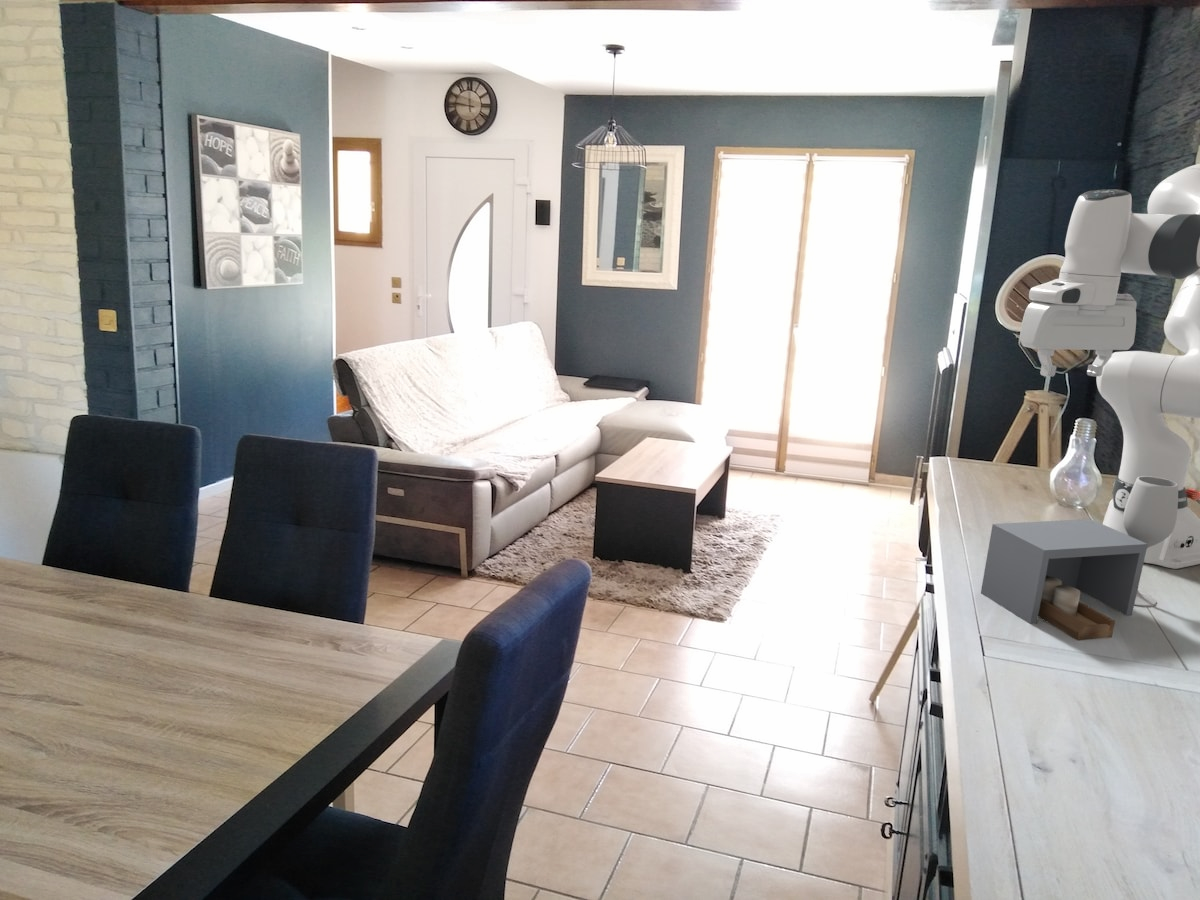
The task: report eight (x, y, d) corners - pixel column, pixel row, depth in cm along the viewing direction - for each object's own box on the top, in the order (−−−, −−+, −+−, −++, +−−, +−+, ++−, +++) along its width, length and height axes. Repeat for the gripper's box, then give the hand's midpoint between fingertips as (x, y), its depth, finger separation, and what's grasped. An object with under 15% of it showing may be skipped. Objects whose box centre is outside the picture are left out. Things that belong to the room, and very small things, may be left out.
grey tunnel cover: (1076, 585, 159) (1090, 519, 156) (1131, 615, 148) (1147, 543, 145) (980, 592, 154) (992, 524, 151) (1030, 623, 143) (1044, 550, 139)
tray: (1046, 599, 152) (1051, 571, 151) (1111, 637, 140) (1118, 606, 138) (1014, 602, 151) (1019, 573, 149) (1077, 640, 138) (1083, 609, 136)
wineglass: (1164, 609, 151) (1192, 490, 145) (1115, 603, 152) (1140, 485, 147) (1147, 591, 158) (1173, 477, 153) (1100, 586, 159) (1124, 472, 154)
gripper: (1122, 292, 153) (1106, 372, 156) (1021, 288, 147) (1007, 372, 151) (1153, 295, 147) (1136, 379, 150) (1049, 292, 141) (1033, 379, 145)
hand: (1070, 375), depth 150 cm, fingers open, 8 cm apart
